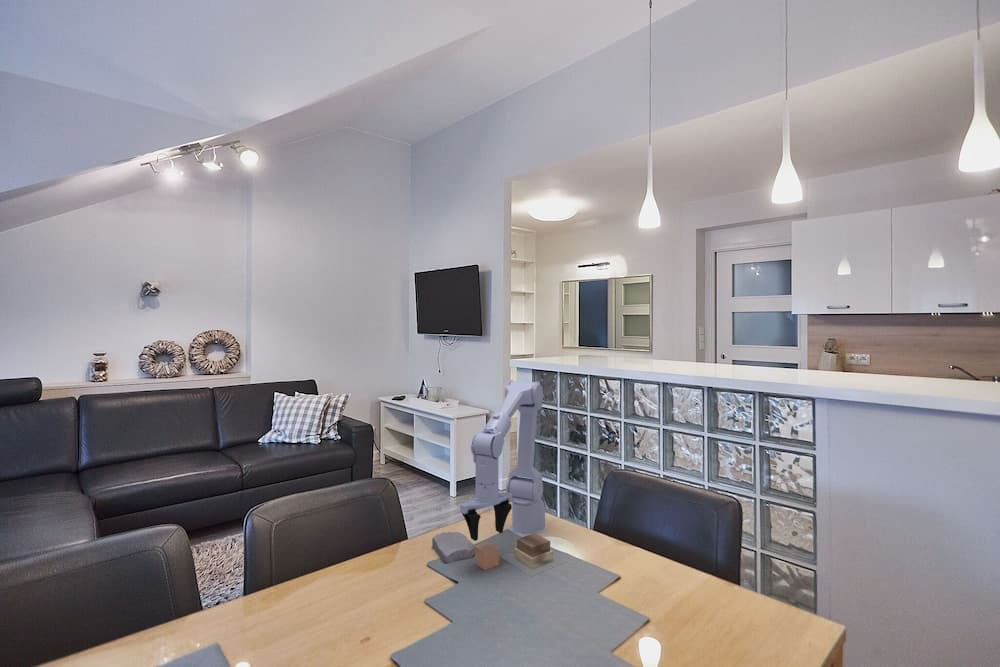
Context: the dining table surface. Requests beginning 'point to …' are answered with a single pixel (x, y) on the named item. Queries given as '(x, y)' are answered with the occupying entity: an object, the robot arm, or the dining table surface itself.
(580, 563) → the dining table surface
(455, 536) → the stone block
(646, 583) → the dining table surface
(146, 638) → the dining table surface
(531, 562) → the beech slab
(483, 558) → the terracotta block
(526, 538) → the walnut slab
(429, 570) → the dining table surface
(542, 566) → the felt mat
